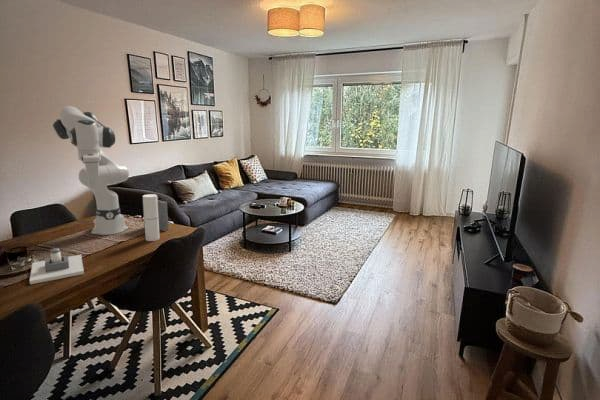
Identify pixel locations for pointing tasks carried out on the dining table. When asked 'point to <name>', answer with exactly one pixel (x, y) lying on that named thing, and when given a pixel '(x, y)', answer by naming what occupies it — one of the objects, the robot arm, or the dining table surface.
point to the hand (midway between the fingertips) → (93, 185)
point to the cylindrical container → (151, 217)
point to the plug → (55, 255)
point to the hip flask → (162, 215)
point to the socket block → (56, 269)
